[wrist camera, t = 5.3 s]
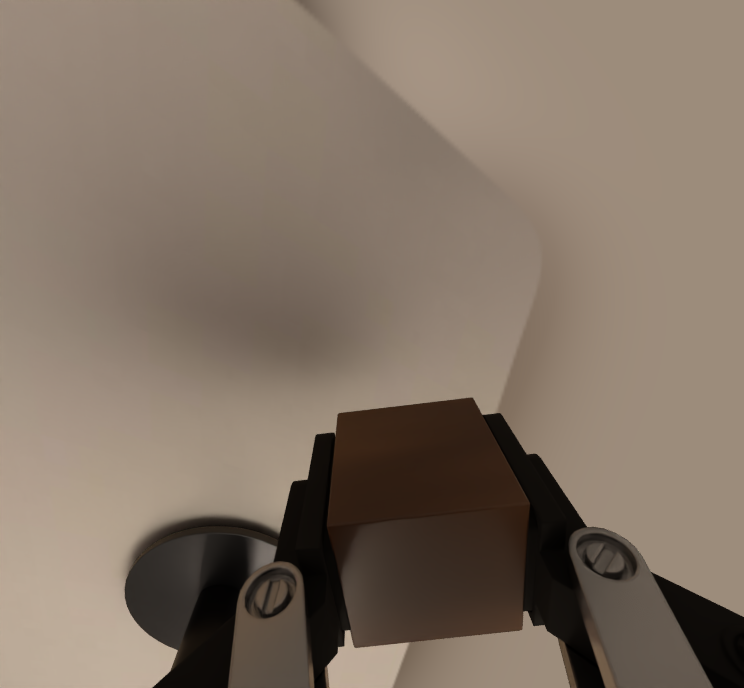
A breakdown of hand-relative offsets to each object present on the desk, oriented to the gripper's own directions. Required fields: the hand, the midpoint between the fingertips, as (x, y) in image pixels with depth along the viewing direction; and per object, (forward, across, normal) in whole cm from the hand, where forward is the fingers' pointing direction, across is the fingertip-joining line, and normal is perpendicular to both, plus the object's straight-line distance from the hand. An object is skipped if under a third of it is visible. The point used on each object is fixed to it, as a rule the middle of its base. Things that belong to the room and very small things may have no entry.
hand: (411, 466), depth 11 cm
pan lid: (+7, +12, +14) cm, 20 cm away
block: (0, 0, 0) cm, 0 cm away
